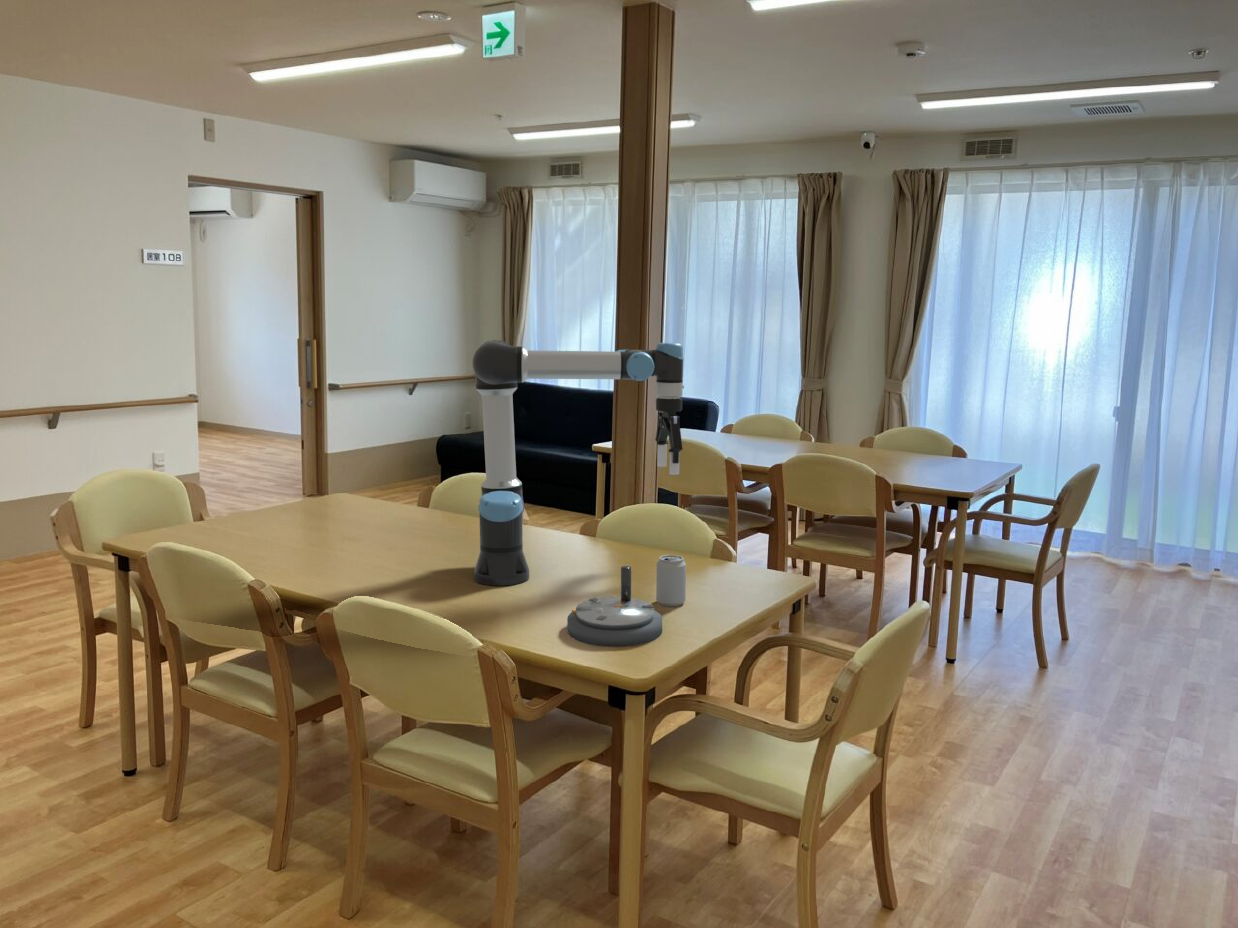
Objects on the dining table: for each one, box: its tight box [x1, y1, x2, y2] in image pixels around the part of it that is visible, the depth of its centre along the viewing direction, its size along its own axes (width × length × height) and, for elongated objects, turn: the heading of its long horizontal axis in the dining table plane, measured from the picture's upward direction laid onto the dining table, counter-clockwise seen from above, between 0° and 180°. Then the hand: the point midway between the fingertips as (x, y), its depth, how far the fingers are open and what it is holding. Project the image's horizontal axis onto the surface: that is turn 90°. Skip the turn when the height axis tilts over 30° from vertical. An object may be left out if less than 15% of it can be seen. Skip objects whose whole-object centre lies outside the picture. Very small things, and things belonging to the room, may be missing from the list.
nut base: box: [566, 608, 663, 648], centre depth 224 cm, size 22×22×4 cm
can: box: [655, 554, 687, 607], centre depth 245 cm, size 8×8×12 cm
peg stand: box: [575, 565, 655, 629], centre depth 223 cm, size 18×18×10 cm
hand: (668, 470), depth 280 cm, fingers open, 13 cm apart
